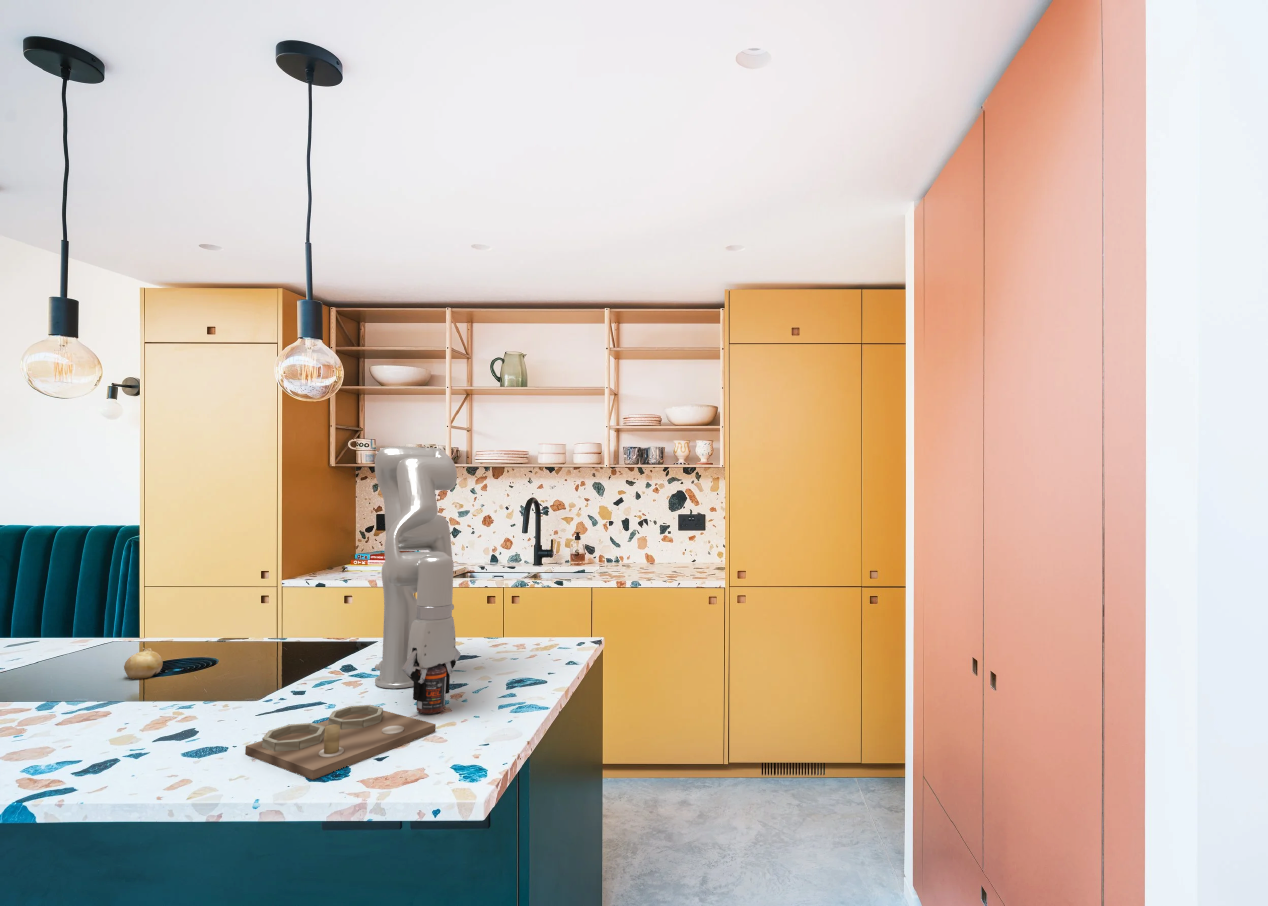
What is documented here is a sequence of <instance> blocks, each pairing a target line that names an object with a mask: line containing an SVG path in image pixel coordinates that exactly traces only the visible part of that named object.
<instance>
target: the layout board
mask: <svg viewBox="0 0 1268 906" xmlns="http://www.w3.org/2000/svg"><path fill="white" fill-rule="evenodd" d="M436 729H437V728H436V723H432V722H429V721H425V720H422V719H418V718H415V717H410V716H405V715H402V714H399V713H395V712H391V711H387V710H384V707H381V706H376V705H373V704H364V705H363V704H362V705H350V706H345V707H343V708H339V709H336V710H333V711H332V712H331V713H330V715H329V716H328V719H327V720H324V721H321V722H317V723H314V722H306V723H292V724H286V725H284V726H280V727H276V728H272V729H271V730H268V731H267V732H266V733H265V735H264V736H263V737H262V740H260V741H256V742H254V743H250V744H246V745H245V752H244V754H245V756H249V757H251V758H253V759H256V760H259V761H262V762H264V763H267V764H270V765H271V766H272V765H273V766H275V767H278V768H280V769H283V770H285V769H286V771H288V770H289V771H288V772H291V773H293V772H294V773H293V774H296V773H297V775H299V774H300V775H299V776H302V777H305V778H307V779H310V780H316V779H318V778H321V777H323V776H327V775H329V774H332V773H333V771H334V772H336V770H337V771H339V770H341V768H342V769H344V768H346V766H347V767H349V766H352V765H354V764H357V763H359V762H362V761H365V760H367V759H369V758H372V757H375V756H377V755H380V754H383V753H385V752H388V751H390V750H393V749H395V748H397V747H400V746H403V745H406V744H408V743H410V742H413V741H416V740H419V739H421V738H423V737H426V736H428V735H430V734H431V735H432V734H433V733H436ZM351 764H352V765H351ZM348 765H349V766H348ZM343 767H344V768H343ZM338 769H339V770H338Z"/></svg>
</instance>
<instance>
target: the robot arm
mask: <svg viewBox="0 0 1268 906" xmlns="http://www.w3.org/2000/svg"><path fill="white" fill-rule="evenodd" d="M374 473H375V478H376V483H377V485H378V488H379V490H380V492H381V495H382V499H383V505H384V524H385V525H384V526H385V527H384V528H385V541H384V550H383V551H384V562H383V564H382V567H381V581H382V590H383V630H382V631H383V637H382V658H381V659H382V660H380V662H379V663H376V664H375V665H374V669H375V670H377V671H379V675H378V676H376V678H375V679H374V684H375V686H376V687H379V688H383V689H404V688H412V687H413V688H412V689H413V690H412V691H413V692H412V700H413V701H416V702H417V701H420V702H424V701H425V700H426V682H424V679H425V676H426V672H427V669H428V668H431V667H434V666H436V665H437V664H439V663H441V665H443V666H444V667H445V668H446V692H445V695H446V694H449V693H450V677H451V675H452V674H453V669H454V668H455V665H456V663H457V661H458V660H459V659H460V657H461V652H460V651H459V650H458V649H457V647H456V642H457V641H456V628H455V627H456V626H455V619H454V617H453V610H454V609H455V605H454V604H453V597H454V596H453V594H454V593H453V592H454V590H453V589H454V559H453V552H452V551H453V550H452V549H453V548H452V540H451V539H452V538H451V529H450V525H449V522H448V521H447V519H446V517H444V516H443V515H442V514H441V515H440V514H438V512H439V510H438V504H437V503H438V502H437V496H436V491H451V490H452V489H454V487H455V486H456V484H457V481H458V471H457V467H456V465H455V462H454V460H453V459H452V458H451V456H449V454H447V453H446V452H445V451H444V450H443V449H441V448H436V447H420V446H419V447H417V446H405V445H403V446H400V445H397V446H394V445H393V446H386V447H383V448H381V449H380V450H378V451H377V453H376V455H375V459H374ZM415 593H416V597H415ZM419 670H421V672H420V675H419Z"/></svg>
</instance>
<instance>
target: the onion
mask: <svg viewBox="0 0 1268 906" xmlns="http://www.w3.org/2000/svg"><path fill="white" fill-rule="evenodd" d="M142 650H143V651H139V652H136V653H134V654H133V655H130V657H129V658H128V659H126V661H125V662H124V665H123V668H124V669H123V670H124V673H125V674H126V675H127V678H129V680H141V679H150V678H151V677H153V676H154V675H155V676H156V675H157V674H159V673H160V671H161V670H162V668H163V664H164V663H163V662H164V660H163V658H162V656H161V655H160V654H159V653H158V652H156V651H153V650H152V648H151V647H150V648H149V647H148V648H145V647H142Z"/></svg>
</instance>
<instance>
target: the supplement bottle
mask: <svg viewBox="0 0 1268 906" xmlns="http://www.w3.org/2000/svg"><path fill="white" fill-rule="evenodd" d="M420 672H421V670H419V675H420ZM424 682H426V700H425V701H424V702H420V701H416V711H417V713H420V714H424V715H432V714H438V713H440V712H442V711H444V710H445V707H446V694H445V692H446V668H445V667H444V666H443V665H441V663H439V664H437V665H436V666H434V667H431V668H428V669H427V672H426V676H425V679H424Z"/></svg>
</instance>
